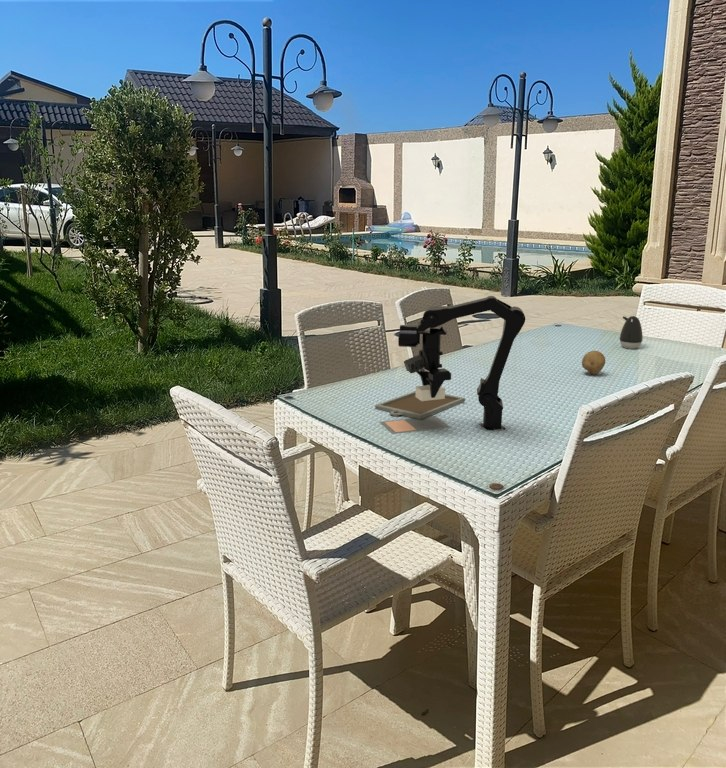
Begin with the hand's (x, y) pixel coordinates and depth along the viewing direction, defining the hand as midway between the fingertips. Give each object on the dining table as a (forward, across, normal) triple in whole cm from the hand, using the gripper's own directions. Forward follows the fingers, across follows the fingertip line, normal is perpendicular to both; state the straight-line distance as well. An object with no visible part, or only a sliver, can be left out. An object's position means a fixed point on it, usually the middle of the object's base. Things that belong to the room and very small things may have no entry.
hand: (429, 395), depth 232 cm
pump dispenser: (+10, -73, +136) cm, 155 cm away
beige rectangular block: (+1, 0, 0) cm, 1 cm away
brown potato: (+10, -37, +89) cm, 97 cm away
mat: (+10, 0, -5) cm, 11 cm away
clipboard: (+10, -18, +4) cm, 21 cm away
